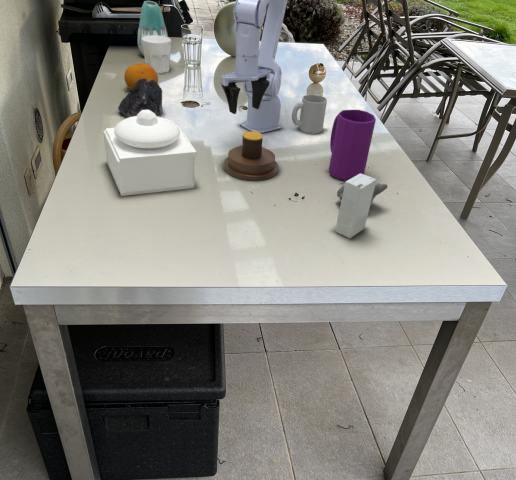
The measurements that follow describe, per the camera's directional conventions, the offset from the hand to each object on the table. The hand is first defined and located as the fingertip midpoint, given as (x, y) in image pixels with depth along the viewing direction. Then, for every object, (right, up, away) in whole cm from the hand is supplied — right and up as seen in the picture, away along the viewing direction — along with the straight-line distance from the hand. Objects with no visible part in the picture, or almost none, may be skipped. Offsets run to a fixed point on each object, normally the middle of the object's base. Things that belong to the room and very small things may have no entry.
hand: (244, 110), depth 142 cm
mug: (+26, -16, 0) cm, 30 cm away
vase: (-36, +48, +62) cm, 86 cm away
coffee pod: (+2, -14, -7) cm, 16 cm away
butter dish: (-23, -21, -11) cm, 33 cm away
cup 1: (-32, +36, +50) cm, 70 cm away
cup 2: (+18, +2, +18) cm, 26 cm away
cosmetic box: (+24, -37, -24) cm, 50 cm away
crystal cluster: (-31, +7, +18) cm, 37 cm away
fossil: (+28, -30, -15) cm, 43 cm away
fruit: (-34, +21, +33) cm, 52 cm away
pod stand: (+2, -17, -4) cm, 18 cm away
